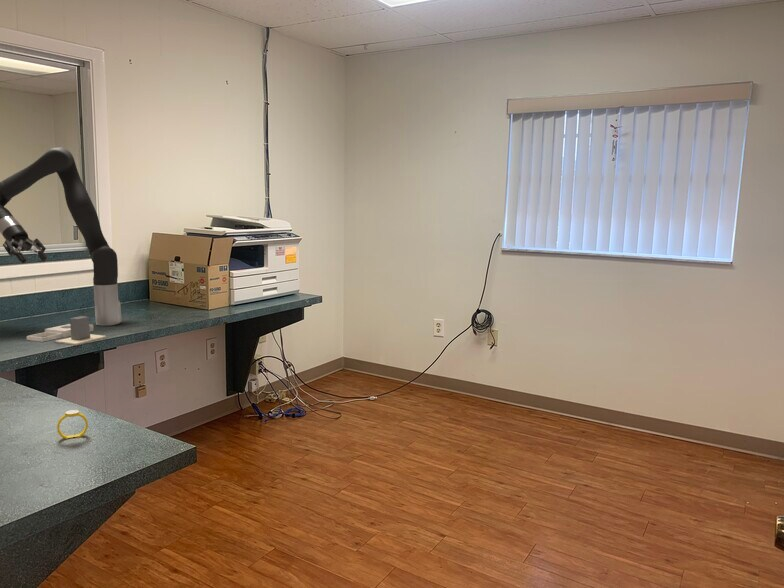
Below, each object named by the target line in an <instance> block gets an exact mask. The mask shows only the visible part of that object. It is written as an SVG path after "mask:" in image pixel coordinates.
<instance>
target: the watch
mask: <svg viewBox="0 0 784 588" xmlns="http://www.w3.org/2000/svg"><path fill="white" fill-rule="evenodd" d="M72 417H80V418H82V419H83V421H84V422H85V426H84V429H83V430H82V431H81V432H80V433H77V434H72V435H70V434H69V435H67V434H64V433H63V432H62V431H61V429H60V424H61V423H62V421H63V420H65V418H72ZM88 423H89V422H88V419H87V417H86V416H85V415H84V414H83V413H80V410H78V409H71V410H67V411H65V412H64V414H63V415H62V416H60V417H59V419H58V421H57V425H56V426H57V427H56V431H57V433H58V435H59V436H60V437H61V438H62V439H65V440H68V439H67V438H70V439H74V438H73V437H77V438H81V437H83V435H85V434H86V432H87V430H88V428H89V427H88V426H89V424H88Z"/></svg>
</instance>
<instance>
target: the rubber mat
mask: <svg viewBox="0 0 784 588" xmlns="http://www.w3.org/2000/svg"><path fill="white" fill-rule="evenodd" d="M105 338H106V339H107V335H101V334H92V333H90V338H87V339H82V340H73V339H71V336H69V337H65V338H60V339H58V340H57V339H56V340H55V343H56V344H63V345H64V344H65V345H72V346H77V345H83V344H86V343H90V342H93V341H97V340H103V339H105Z"/></svg>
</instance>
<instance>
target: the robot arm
mask: <svg viewBox="0 0 784 588" xmlns="http://www.w3.org/2000/svg"><path fill="white" fill-rule="evenodd" d="M54 173H56V174H57V176H58V178H59V179H60V182H61V183H62V187H63V191H64V192H63V193H64V199H65V201H66V202H65V203H66V206H67V209H68V211H69V213H70V214H71V217H72V219H73V221H74V223H75V225H76V227H77V228H78V230H79V232H80V233H81V235H82V237H83V238H84V241H85V243H86V247H87V249H88V252H89V256H90V259H91V262H92V267H93V278H92V281H93V297H94V300H93V301H94V315H95V316H94V317H95V325H96V326H101V327H102V326H103V327H105V326H115V325H118V324H120V323H122V310H121V309H122V308H121V301H120V300H119V290H118V287H119V286H118V277H119V269H118V268H119V267H118V265H119V264H118V255H117V252H116V251H115V250H114V249H113V248H111V246H110V245H109V243H108V241H107V239H106V238H105V236H104V234H103V231H102V227H101V223H100V219H99V216H98V213H97V211H96V208H95V205H94V203H93V201H92V199H91V197H90V195H89V193H88V190H87V189H86V187H85V185H84V183H83V181H82V179H81V177H80V174H79V170H78V168H77V164H76V161H75V158H74V156H73V154H72V152H71V151H69V149H67V148H65V147H60V146H59V147H52V148H49V149H47V151H45V152H44V154H42V155H41V156H40V157H39V158H37V160H35V161H34V162H32V163H31V164H29V165H28V166H26V167H25V168H23V169H21V170H19V171H17V172H15V173H13V174H12V175H9V176H8V177H7V178H5V179H3V180H1V181H0V234H1V235H2V237H3V238H4V239H5V240H4V242H3V243H2V246H3V248H4V250H5V251H6V252H7V254H8V255H9V256H12V257H13V256H14V257H16V258H17V259H18V261H19V262H20V263H21V264H26V263H27V261H28V258H26V257H25V255H24V254H23V252H30V253H31V254H33V253H35V254H36V255H37V256H38V259H40V261H42V262H43V263H44V262H46V260H47V259H48V256H47V255H46V254H45V251H46V250H47V247H46V246H44V244H43V243H42V242H41V240H39V239H38V238H35V239H31V238H29V235H28V233H27V231H26V230H25V228H24V227H23V226H22V224H21V223H20V222H19V221H18V220H17V219H16V218H15V217H14V215H13V214H12V213H11V211H9V209H8V208H7V207H6V206H7V204H8V203H9V202H10V201H11V200H12V199H13V198H14V197H16V196H18V195H19V194H21V193H23V192H24V191H26V190H27V189H29V188H31V187H32V186H34V184H36V183H37V182H38V181H41V180H42V179H43V178H46V177H47V176H49V175H52V174H54Z"/></svg>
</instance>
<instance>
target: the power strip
mask: <svg viewBox="0 0 784 588" xmlns="http://www.w3.org/2000/svg"><path fill="white" fill-rule="evenodd" d="M91 332H94V324H90V333H91ZM70 337H71V327H70V323H66V324H63V325H57V326H51V327H47V328H44V332H39V333H35V334H30V335H26V340H27V341H32V342H38V343H39V342H40V343H43V342H48V341H52V340H57V339H58V340H59V339H66V338H70Z"/></svg>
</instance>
